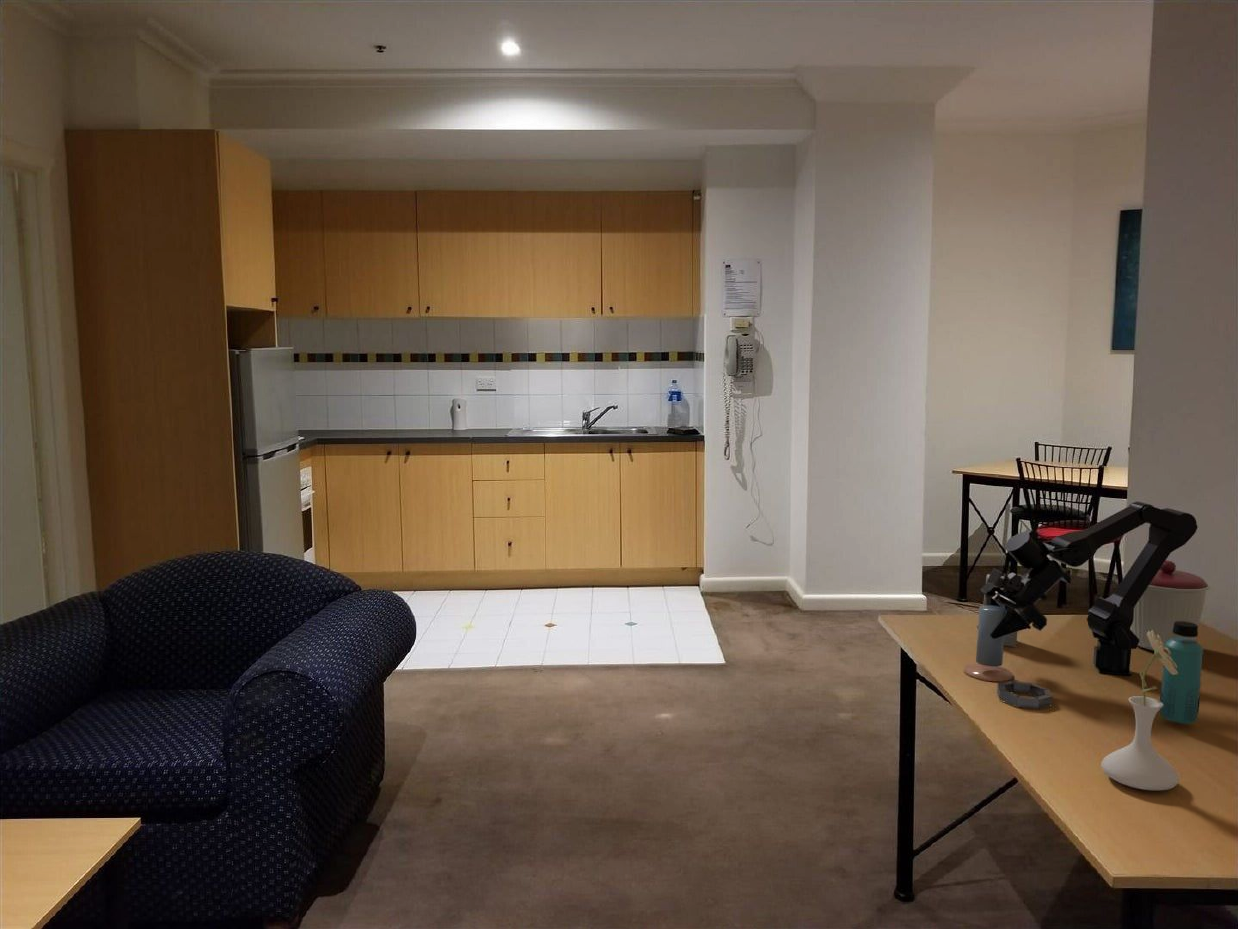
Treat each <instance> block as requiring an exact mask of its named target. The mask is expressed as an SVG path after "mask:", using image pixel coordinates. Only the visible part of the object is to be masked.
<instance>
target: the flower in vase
mask: <svg viewBox="0 0 1238 929" xmlns="http://www.w3.org/2000/svg"><path fill="white" fill-rule="evenodd" d="M1147 636H1148V639H1149V641H1150V644H1151V646H1152V648H1153V649H1154V651H1153V652H1154V653H1153V655H1152V657H1151V659H1150V660H1149V661H1148V662H1147V665H1146V666H1145V668H1144V670H1143V673H1142V671H1140V672H1139V676H1140V679H1141V683H1142V684H1141V686H1142V690H1141V691H1139V692H1140V693H1142V696H1140V695H1139V696H1138V695H1136V696H1135V695H1134V696H1130V697H1129V698H1128V701H1129V703H1130V704H1131V707H1132V708H1133V711H1134V716H1135V732H1134V737H1133V740H1132V741H1131V743H1130V744H1128V745H1126V746H1124V747H1122V748H1119V749H1117V750H1114V751H1113V752H1111V753H1109V754H1107V755H1106V756H1104V758H1103V759H1102V761H1101V763H1100V765H1101V769H1102V770H1103V772H1104V774H1105V775H1107V776H1108V777H1109V778H1110V779H1112V780H1114V781H1117V782H1118V783H1120V784H1122V785H1125V786H1128V787H1130V788H1133V789H1138V790H1139V789H1140V790H1145V791H1166V790H1171V789H1173V788H1174V787H1176V786H1177V785H1178V784H1179V782H1180V779H1179V774H1178V772H1177V771H1176V770H1175V769H1174V767H1173V766H1172V765H1171V764H1170V763H1169V762H1168V761H1167V760H1166V759H1165V758H1164V757H1163V756H1162V755H1160V754H1159V753H1158V752H1157V751H1156V749H1155V748H1154V747H1153V745H1152V742H1151V735H1152V734H1151V733H1152V727H1153V723H1154V719H1155V717H1156V714H1157V713H1158V712H1159V711H1160V709H1161V708H1162V707H1163V703H1162V702H1160V701H1161V700H1157V699H1156V698H1152V697H1148V696H1146V692H1149V691H1153V690H1158V687H1157V686H1156V685H1153V686H1152V687H1149V688H1148V686H1147V681H1146V680H1145V678H1146V677H1145V676H1146V673H1147V672H1148V670H1149V667H1150V666H1151V665H1152V663H1153V661H1154V660H1155V658H1157V659H1159V661H1160V662H1161V663H1162V666H1165V667H1166V669H1167V670H1168V671H1169V672H1170V673H1171V674H1172V675H1175V674H1178V672H1177V670H1176V669H1175V668H1174V667H1176V668H1177V665H1176V664H1175V662H1174V661H1173V660H1172V658H1171V657H1170V656H1169V655H1170V651H1169V649H1168V648H1164V645H1163V643H1162V642H1161V638H1160V636H1159V635H1157V638H1156V635H1155V633H1154V631H1153V630H1152V631H1151V632H1150V631H1149V632H1148V633H1147Z"/></svg>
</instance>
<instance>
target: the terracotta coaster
mask: <svg viewBox="0 0 1238 929" xmlns="http://www.w3.org/2000/svg"><path fill="white" fill-rule="evenodd" d="M963 673H964V675H966V676H968V677H969V678H973V679H975V680H980V681H985V682H990V681H1004V682H1008V680H1009V681H1012V679H1013V677H1014V676H1013V675H1014V674H1013V673H1012V671H1011V670H1010V669H1007V668H1005V667H1002V666H997V667H992V666H985V665H981V664H979V663H970V664H966V665H965V666H963Z"/></svg>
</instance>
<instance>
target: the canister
mask: <svg viewBox="0 0 1238 929" xmlns="http://www.w3.org/2000/svg"><path fill="white" fill-rule="evenodd" d="M1126 574H1127V572H1125V573H1123V575H1122V577H1123V578H1124V577H1125V575H1126ZM1210 589H1211V584H1210V583H1209V582H1208V581H1206V580H1205V579H1204V578H1202V577H1201V576H1198V575H1196V574H1194V573H1190V572H1186V571H1182V570H1177V564H1176V563H1175V562H1174V561H1172V560H1167V559H1166V561H1165V562H1164V564H1163V565H1162V567H1161V568H1160V570H1159V571H1158V573H1157V574H1156V576H1155V577H1154V578H1153V580H1152V581H1151V583H1150V584H1149V586H1148V587H1147V589H1146V590H1145V592H1144V593H1143V595H1142V596H1141V598H1140V599H1139V601H1138V602H1137V604H1136V605H1135V607H1134V620H1133V623H1132V625H1131V628H1130V630H1131V631H1132V632H1133V633H1134V634H1135V635H1136V636H1137V638H1138V639H1139V640H1140V641H1139V643H1138V646H1137V647H1139V648H1142V649H1146V650H1150V651H1153V652H1155V651H1154V649H1153V648H1152V646H1151V644H1150V641H1149V639H1148V636H1147V633H1148V632H1149V631H1150V632H1151V631H1152V630H1153V631H1154V633H1155V635H1156V638H1157V635H1159V636H1160V638H1161V642H1162V643H1163V645H1164V648H1165V643H1166V642H1167V641H1169V640H1170V639H1172V638H1176V637H1180V638H1188V639H1192V640H1194V641H1196V638H1197V637H1185V636H1180V635H1176V634H1174V633H1173V632H1172V631H1173V626H1174V622H1176V621H1185V622H1191V623H1194V624H1196V625H1197V626H1198V627H1199V626H1200V621H1201V618H1202V615H1203V610H1204V609H1203V608H1204V604H1205V599H1206V596H1207V591H1208V590H1210Z"/></svg>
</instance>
